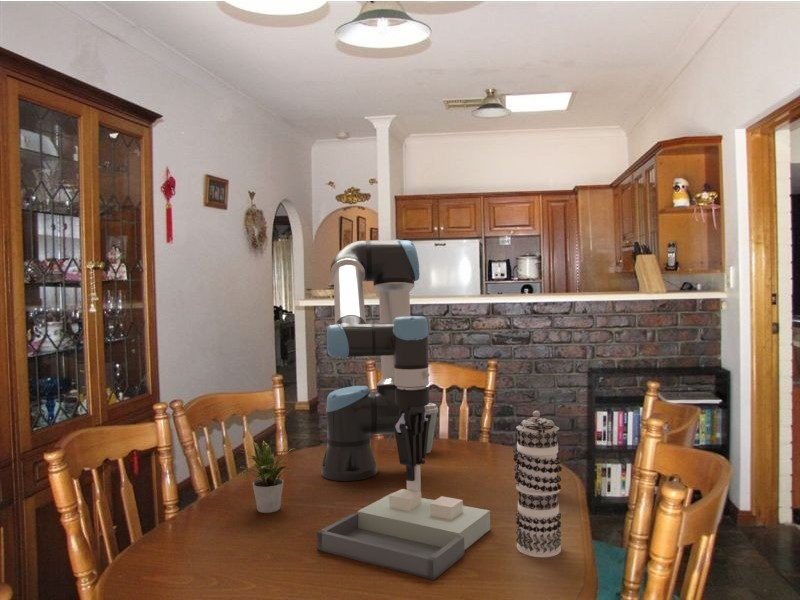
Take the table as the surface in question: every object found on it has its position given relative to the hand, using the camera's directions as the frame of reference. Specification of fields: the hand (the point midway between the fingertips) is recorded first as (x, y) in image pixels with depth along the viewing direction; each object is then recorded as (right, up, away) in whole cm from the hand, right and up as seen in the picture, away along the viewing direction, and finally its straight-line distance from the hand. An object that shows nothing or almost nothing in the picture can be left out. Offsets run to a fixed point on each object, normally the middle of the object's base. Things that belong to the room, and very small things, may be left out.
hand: (413, 494), depth 141 cm
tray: (-5, -6, -17) cm, 19 cm away
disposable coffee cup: (+4, -4, +57) cm, 57 cm away
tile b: (+7, -2, -8) cm, 10 cm away
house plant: (-35, -6, +9) cm, 36 cm away
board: (+2, -6, -6) cm, 9 cm away
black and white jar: (+24, -6, -16) cm, 29 cm away
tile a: (-2, -2, -3) cm, 4 cm away
